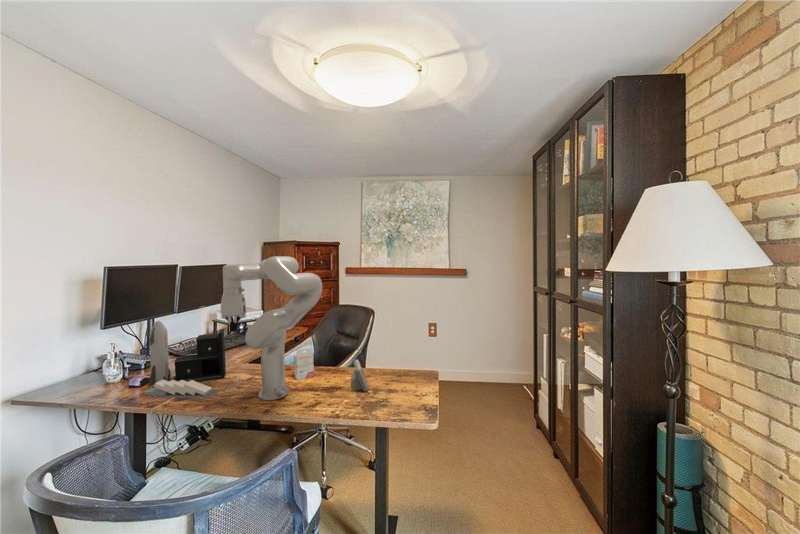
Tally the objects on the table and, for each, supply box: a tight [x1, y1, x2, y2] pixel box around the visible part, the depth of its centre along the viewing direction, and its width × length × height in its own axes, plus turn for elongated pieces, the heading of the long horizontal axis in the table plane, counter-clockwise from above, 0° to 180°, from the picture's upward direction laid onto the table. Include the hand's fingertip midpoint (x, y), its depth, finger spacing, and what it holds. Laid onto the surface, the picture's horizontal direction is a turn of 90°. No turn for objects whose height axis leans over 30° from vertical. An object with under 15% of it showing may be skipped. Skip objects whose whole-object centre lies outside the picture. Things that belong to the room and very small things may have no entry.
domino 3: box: [164, 379, 188, 395], centre depth 157 cm, size 2×5×10 cm
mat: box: [157, 388, 223, 399], centre depth 157 cm, size 23×10×1 cm, turn 86°
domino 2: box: [153, 379, 177, 395], centre depth 157 cm, size 2×5×10 cm
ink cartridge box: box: [293, 347, 315, 381], centre depth 177 cm, size 9×5×15 cm, turn 120°
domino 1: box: [143, 387, 168, 396], centre depth 158 cm, size 2×5×10 cm
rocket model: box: [148, 320, 172, 387], centre depth 173 cm, size 14×7×30 cm, turn 177°
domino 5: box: [183, 380, 213, 395], centre depth 156 cm, size 2×5×10 cm
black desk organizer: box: [172, 328, 227, 383], centre depth 176 cm, size 23×11×24 cm, turn 112°
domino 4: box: [173, 380, 197, 395], centre depth 157 cm, size 2×5×10 cm
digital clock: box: [351, 359, 370, 392], centre depth 163 cm, size 16×9×11 cm, turn 179°
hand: (234, 331), depth 163 cm, fingers closed
